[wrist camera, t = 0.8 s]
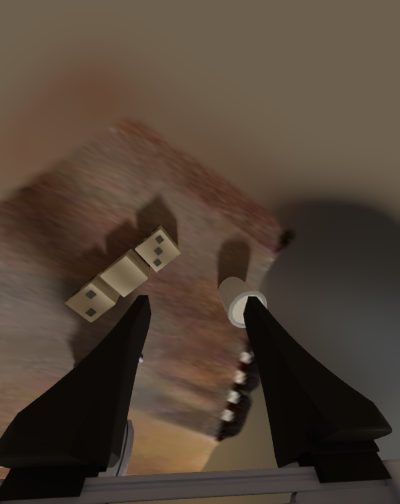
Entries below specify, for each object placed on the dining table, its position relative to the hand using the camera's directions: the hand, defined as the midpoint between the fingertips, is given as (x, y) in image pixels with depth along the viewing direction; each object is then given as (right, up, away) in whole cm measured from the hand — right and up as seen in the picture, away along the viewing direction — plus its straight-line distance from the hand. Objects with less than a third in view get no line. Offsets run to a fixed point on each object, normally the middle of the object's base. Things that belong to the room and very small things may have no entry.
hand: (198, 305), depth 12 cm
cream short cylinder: (+6, -4, +21) cm, 22 cm away
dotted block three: (-7, +5, +15) cm, 18 cm away
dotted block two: (-16, -2, +15) cm, 22 cm away
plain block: (-11, +1, +15) cm, 19 cm away
